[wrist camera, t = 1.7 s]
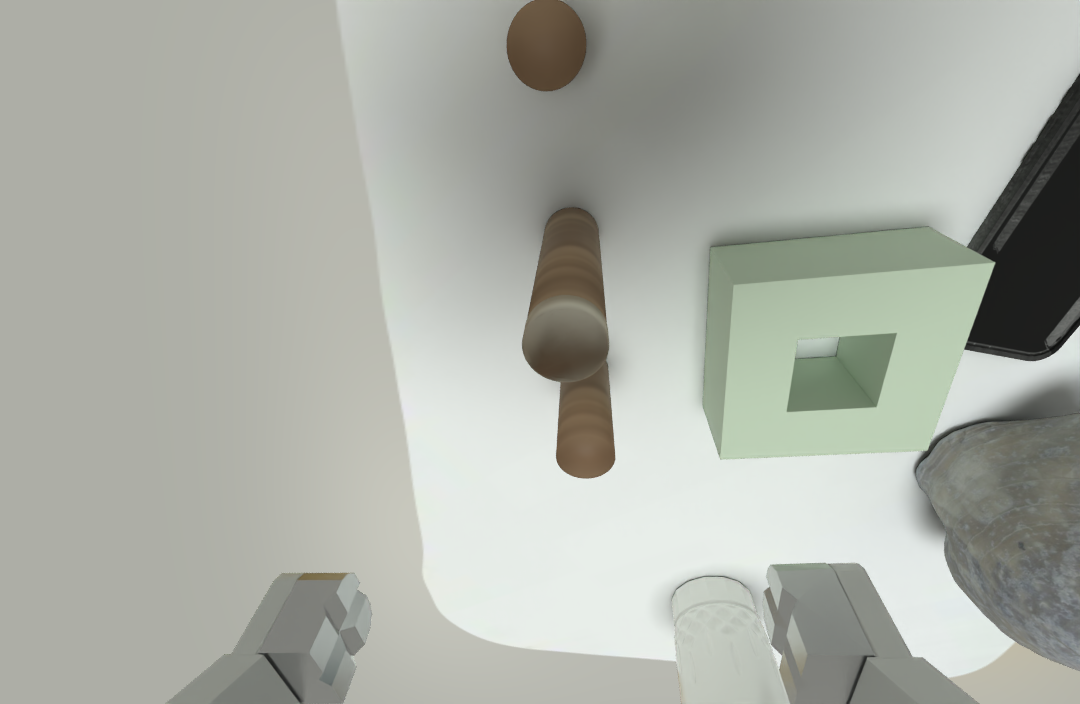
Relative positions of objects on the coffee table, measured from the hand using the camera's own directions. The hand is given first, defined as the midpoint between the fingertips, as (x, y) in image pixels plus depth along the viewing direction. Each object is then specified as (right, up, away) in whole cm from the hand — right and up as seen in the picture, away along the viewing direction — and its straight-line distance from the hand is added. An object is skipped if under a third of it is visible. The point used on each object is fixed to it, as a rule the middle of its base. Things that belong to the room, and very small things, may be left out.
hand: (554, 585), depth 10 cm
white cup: (+15, -17, +34) cm, 41 cm away
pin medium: (+3, +4, +22) cm, 23 cm away
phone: (+26, +12, +16) cm, 33 cm away
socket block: (+15, +6, +20) cm, 26 cm away
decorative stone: (+31, -3, +24) cm, 39 cm away
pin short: (0, +19, +13) cm, 23 cm away
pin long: (+1, +11, +18) cm, 21 cm away
